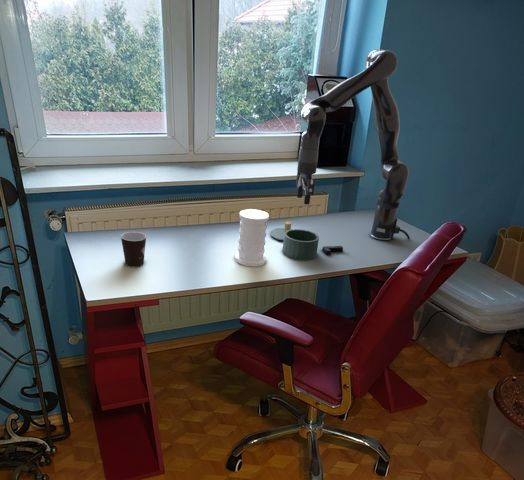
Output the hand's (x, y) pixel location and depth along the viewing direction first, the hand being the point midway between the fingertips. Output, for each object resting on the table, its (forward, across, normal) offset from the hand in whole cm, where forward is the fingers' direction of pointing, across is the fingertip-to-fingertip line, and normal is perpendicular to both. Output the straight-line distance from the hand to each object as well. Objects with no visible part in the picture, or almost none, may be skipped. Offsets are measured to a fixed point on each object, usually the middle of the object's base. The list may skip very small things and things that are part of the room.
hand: (302, 200), depth 217 cm
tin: (+17, -14, +5) cm, 23 cm away
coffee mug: (+16, -18, +69) cm, 73 cm away
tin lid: (+16, +4, +4) cm, 17 cm away
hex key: (+17, -15, -10) cm, 25 cm away
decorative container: (+16, -20, +27) cm, 37 cm away
